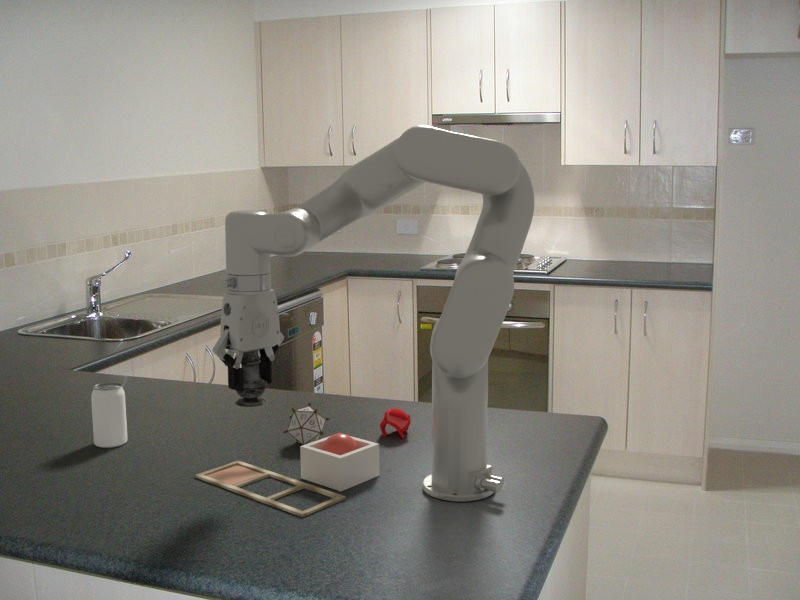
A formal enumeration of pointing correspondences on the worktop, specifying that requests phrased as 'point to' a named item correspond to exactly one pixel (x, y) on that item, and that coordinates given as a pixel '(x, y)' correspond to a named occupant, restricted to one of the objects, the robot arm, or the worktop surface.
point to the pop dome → (339, 444)
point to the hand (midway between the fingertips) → (250, 384)
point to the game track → (245, 474)
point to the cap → (395, 421)
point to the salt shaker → (251, 381)
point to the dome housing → (339, 464)
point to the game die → (306, 425)
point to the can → (109, 415)
